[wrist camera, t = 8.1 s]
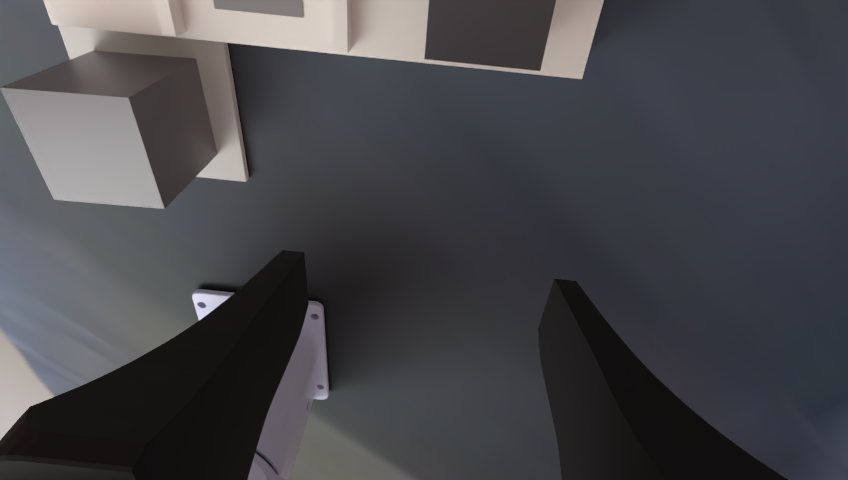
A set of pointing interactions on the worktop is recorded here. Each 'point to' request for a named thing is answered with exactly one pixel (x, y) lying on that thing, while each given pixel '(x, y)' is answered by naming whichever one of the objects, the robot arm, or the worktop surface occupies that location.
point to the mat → (213, 79)
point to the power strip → (369, 28)
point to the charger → (115, 127)
